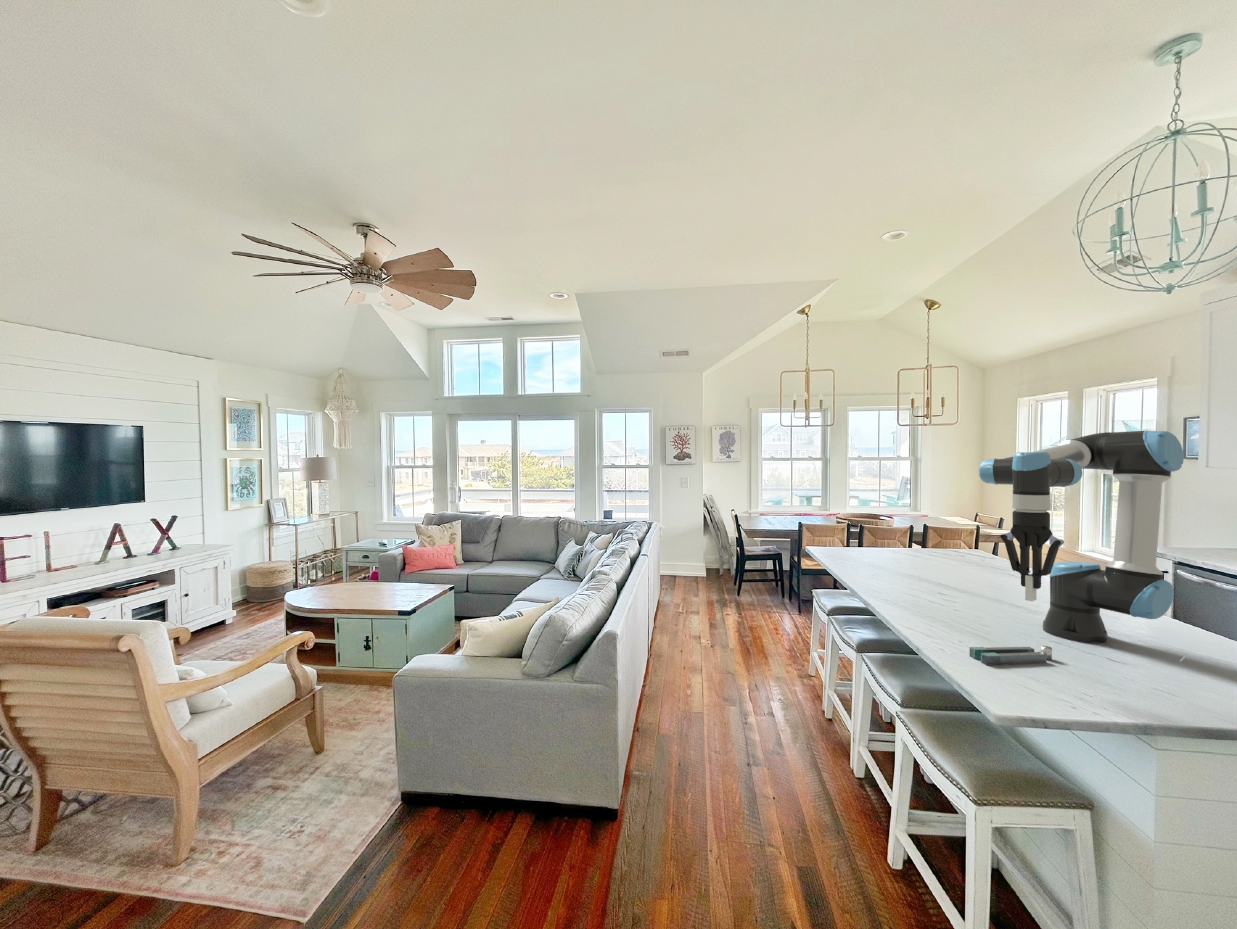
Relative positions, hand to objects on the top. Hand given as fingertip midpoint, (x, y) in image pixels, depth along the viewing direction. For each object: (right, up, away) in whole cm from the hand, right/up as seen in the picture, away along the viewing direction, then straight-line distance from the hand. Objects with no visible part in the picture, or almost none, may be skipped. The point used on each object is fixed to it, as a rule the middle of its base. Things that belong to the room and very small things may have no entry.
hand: (1030, 599), depth 128 cm
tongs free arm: (+1, -19, +6) cm, 20 cm away
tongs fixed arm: (+2, -19, +9) cm, 21 cm away
